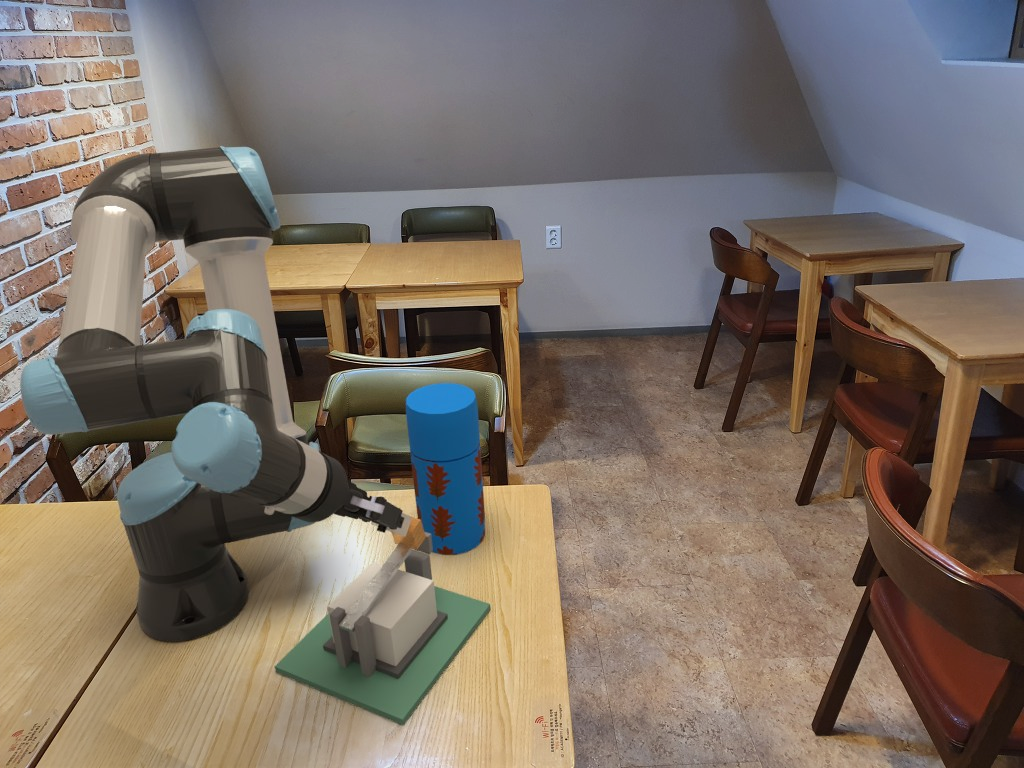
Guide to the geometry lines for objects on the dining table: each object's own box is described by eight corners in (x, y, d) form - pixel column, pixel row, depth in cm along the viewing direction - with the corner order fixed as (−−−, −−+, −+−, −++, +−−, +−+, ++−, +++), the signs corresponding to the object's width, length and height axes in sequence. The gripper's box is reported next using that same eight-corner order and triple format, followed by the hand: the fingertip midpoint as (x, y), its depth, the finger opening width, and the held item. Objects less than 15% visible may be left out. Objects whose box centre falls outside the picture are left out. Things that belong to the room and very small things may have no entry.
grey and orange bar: (335, 625, 97) (326, 607, 95) (404, 531, 108) (398, 513, 106) (358, 634, 95) (350, 615, 93) (426, 538, 107) (420, 519, 104)
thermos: (476, 558, 120) (466, 416, 110) (411, 552, 122) (394, 412, 112) (492, 518, 130) (483, 384, 119) (431, 513, 132) (417, 380, 121)
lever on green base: (275, 672, 101) (260, 606, 96) (375, 572, 118) (367, 512, 114) (403, 725, 92) (393, 656, 87) (490, 609, 110) (486, 546, 105)
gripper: (241, 501, 85) (355, 540, 105) (335, 529, 79) (436, 565, 99) (267, 436, 87) (373, 488, 107) (360, 460, 81) (454, 509, 101)
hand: (404, 525), depth 103 cm, fingers closed
